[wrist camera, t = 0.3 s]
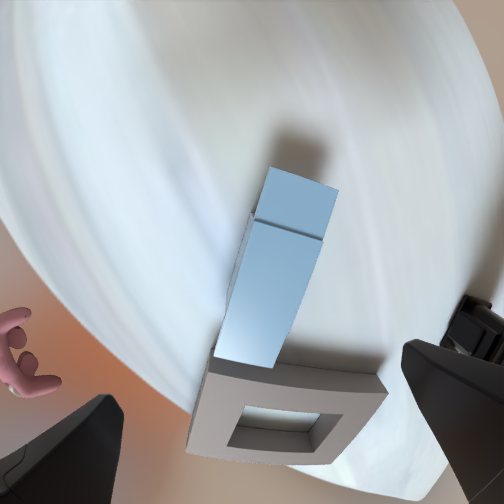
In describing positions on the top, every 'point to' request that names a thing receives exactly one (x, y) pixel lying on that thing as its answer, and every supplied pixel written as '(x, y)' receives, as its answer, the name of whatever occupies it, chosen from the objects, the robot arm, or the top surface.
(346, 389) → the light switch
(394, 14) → the top surface
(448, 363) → the robot arm
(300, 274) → the light blue bar
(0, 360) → the video game controller
